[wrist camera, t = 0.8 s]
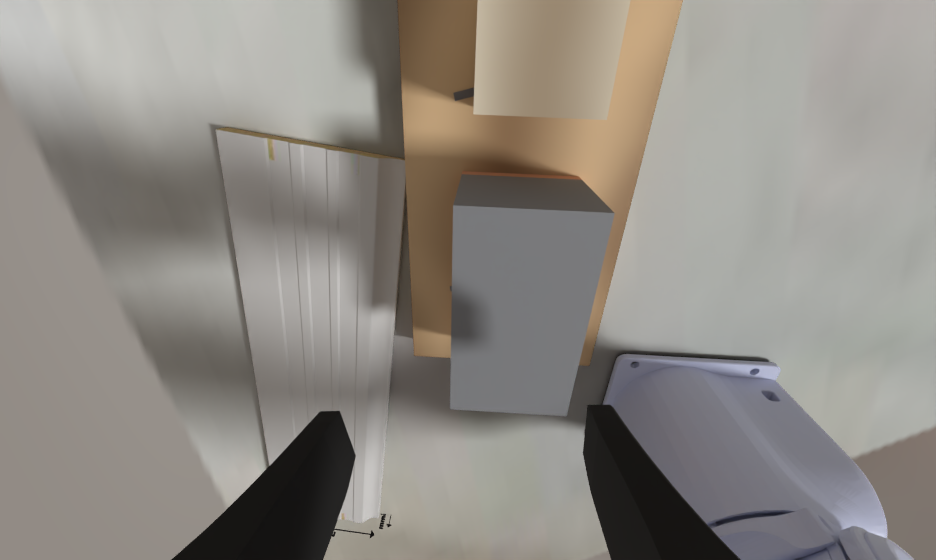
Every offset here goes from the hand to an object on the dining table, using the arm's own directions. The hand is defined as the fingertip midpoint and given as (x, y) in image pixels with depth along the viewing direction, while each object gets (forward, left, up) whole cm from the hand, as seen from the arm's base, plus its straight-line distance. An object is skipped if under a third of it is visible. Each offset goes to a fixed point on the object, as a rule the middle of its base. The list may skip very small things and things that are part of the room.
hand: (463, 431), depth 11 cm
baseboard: (+9, +9, -11) cm, 17 cm away
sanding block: (-2, -1, -9) cm, 9 cm away
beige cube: (-2, -10, -9) cm, 14 cm away
